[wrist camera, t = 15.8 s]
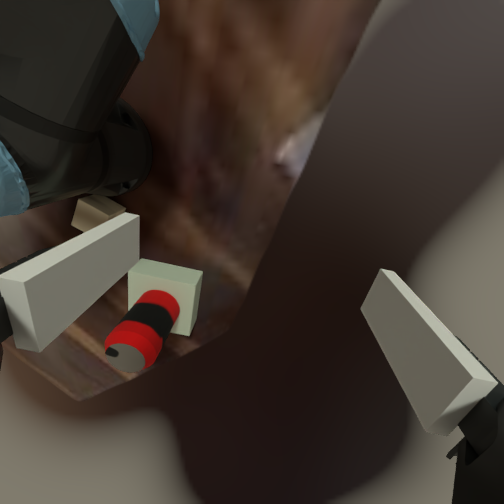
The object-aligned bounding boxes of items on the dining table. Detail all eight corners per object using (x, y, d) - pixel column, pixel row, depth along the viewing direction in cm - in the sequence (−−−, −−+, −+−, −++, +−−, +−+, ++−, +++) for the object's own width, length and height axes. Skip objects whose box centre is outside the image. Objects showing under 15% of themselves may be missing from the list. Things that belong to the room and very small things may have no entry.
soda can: (148, 281, 43) (106, 329, 32) (187, 300, 44) (159, 353, 33) (134, 310, 46) (92, 363, 35) (171, 327, 47) (141, 384, 36)
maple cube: (117, 230, 45) (100, 240, 40) (91, 216, 44) (70, 225, 40) (126, 207, 43) (109, 216, 38) (99, 192, 42) (78, 199, 38)
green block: (141, 307, 52) (128, 323, 47) (141, 258, 47) (127, 270, 42) (196, 319, 52) (189, 336, 48) (203, 271, 47) (195, 285, 43)
